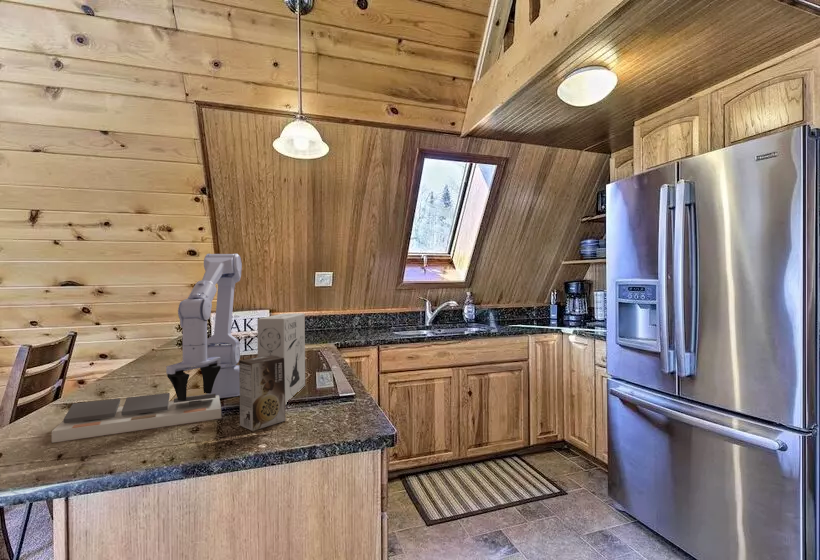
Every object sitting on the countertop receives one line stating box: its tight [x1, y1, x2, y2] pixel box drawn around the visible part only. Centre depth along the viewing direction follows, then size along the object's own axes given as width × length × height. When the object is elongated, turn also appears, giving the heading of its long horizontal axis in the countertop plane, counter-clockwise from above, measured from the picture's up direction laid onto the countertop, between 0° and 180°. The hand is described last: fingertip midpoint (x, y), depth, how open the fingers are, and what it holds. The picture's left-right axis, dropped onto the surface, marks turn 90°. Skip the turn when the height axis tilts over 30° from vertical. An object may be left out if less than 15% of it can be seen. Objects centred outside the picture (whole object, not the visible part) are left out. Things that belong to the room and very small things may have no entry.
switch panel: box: [51, 395, 222, 443], centre depth 104 cm, size 34×15×3 cm, turn 117°
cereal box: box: [257, 312, 306, 406], centre depth 126 cm, size 22×8×25 cm, turn 179°
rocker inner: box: [173, 393, 216, 403], centre depth 109 cm, size 10×8×1 cm
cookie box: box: [238, 355, 287, 432], centre depth 101 cm, size 9×6×16 cm
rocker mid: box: [121, 392, 171, 416], centre depth 104 cm, size 10×8×1 cm
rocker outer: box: [62, 398, 121, 423], centre depth 99 cm, size 10×8×1 cm
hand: (195, 396), depth 106 cm, fingers open, 7 cm apart
